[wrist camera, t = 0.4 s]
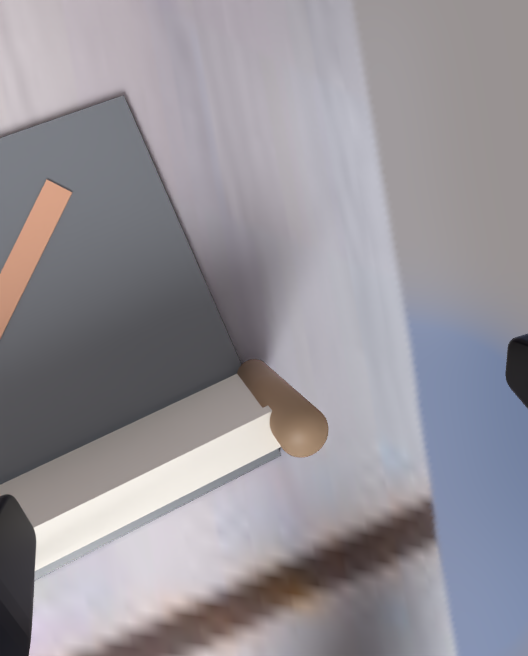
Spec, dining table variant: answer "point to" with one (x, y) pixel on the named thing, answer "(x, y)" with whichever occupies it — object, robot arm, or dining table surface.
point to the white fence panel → (164, 458)
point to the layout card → (96, 297)
